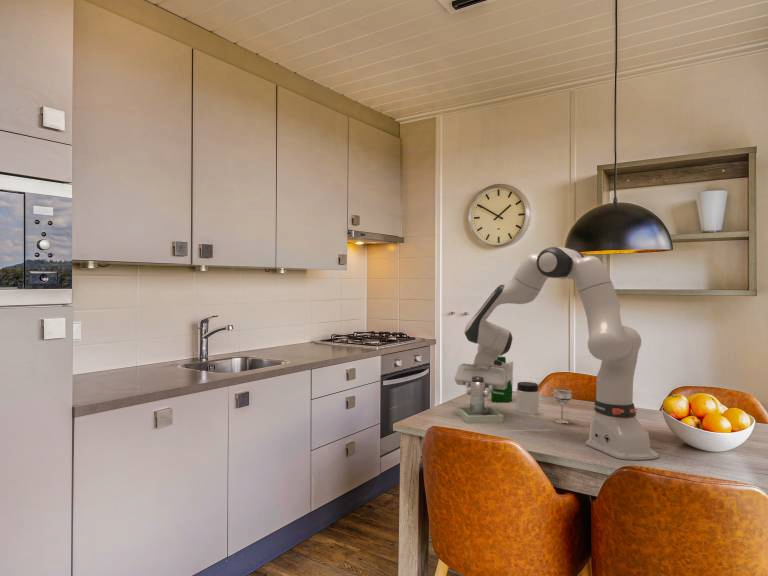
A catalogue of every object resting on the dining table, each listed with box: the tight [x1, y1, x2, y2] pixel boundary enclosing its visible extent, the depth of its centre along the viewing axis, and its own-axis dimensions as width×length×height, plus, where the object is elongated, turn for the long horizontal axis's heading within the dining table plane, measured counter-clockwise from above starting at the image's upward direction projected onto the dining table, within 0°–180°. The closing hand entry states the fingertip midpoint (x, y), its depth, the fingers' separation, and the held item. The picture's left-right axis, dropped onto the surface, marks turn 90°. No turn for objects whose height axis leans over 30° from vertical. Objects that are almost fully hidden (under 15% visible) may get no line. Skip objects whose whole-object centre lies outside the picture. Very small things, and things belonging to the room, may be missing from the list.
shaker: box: [469, 376, 486, 412], centre depth 198 cm, size 5×5×12 cm
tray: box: [456, 406, 505, 424], centre depth 200 cm, size 14×14×3 cm
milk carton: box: [490, 356, 514, 404], centre depth 232 cm, size 9×9×20 cm
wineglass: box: [552, 388, 573, 424], centre depth 199 cm, size 7×7×12 cm
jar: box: [515, 381, 540, 416], centre depth 212 cm, size 9×8×12 cm
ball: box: [481, 406, 489, 415], centre depth 204 cm, size 3×3×3 cm
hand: (477, 395), depth 197 cm, fingers closed on shaker, 5 cm apart
